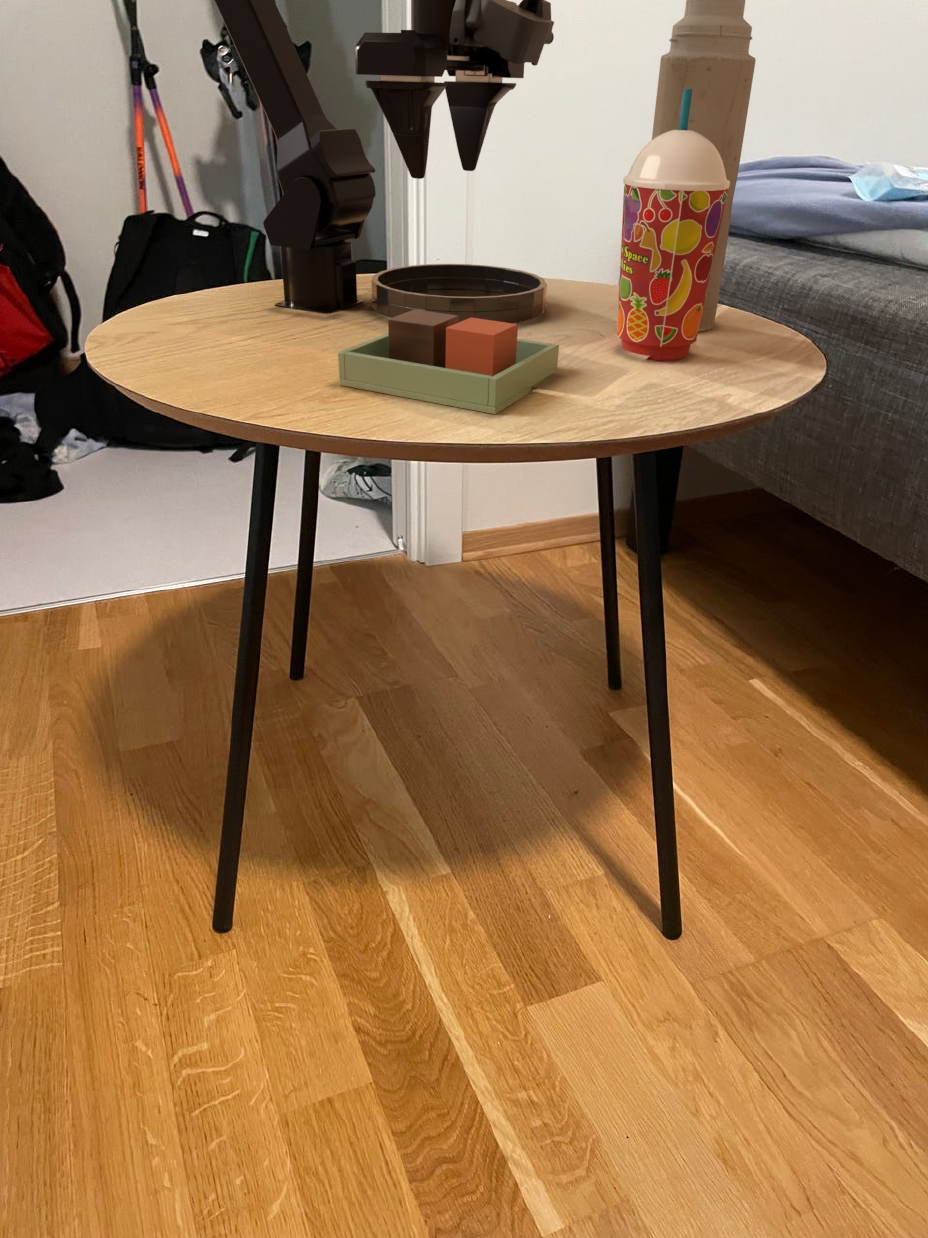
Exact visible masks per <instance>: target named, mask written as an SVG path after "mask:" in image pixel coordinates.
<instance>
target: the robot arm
mask: <svg viewBox="0 0 928 1238" xmlns="http://www.w3.org/2000/svg"><path fill="white" fill-rule="evenodd" d="M213 1H214V3H215V6H216V8H217V10H218V12H219V14H220V16H221V18H222V21H223V23H224V25H225V28H226V29H227V32H228V34H229V36H230V38H231V41H232V43H233V45H234V47H235V49H236V52H237V54H238V56H239V58H240V61H241V62H242V63H241V64H242V65H243V67H244V69H245V71H246V74H247V76H248V78H249V81H250V83H251V84H252V85H251V86H252V88H253V89H254V91H255V94H256V96H257V98H258V100H259V102H260V104H261V107H262V109H263V111H264V113H265V115H266V118H267V120H268V121H269V125H270V127H271V129H272V131H273V133H274V136H275V138H276V139H275V140H276V176H277V179H278V182H279V185H280V189H281V192H282V196H281V197H280V198H279V200H278V201H277V202H276V204H275V205H274V206H273V208H272V209H271V211H270V212H269V213H268V215H267V216H266V218H264V220H263V222H262V225H263V228H264V231H265V234H266V237H267V240H268V243H269V245H270V246H272V247H280V256H281V257H280V258H281V270H282V271H281V272H282V286H283V300H282V301H279V302H276V303H274V307H279V308H284V309H291V310H297V311H304V312H310V313H311V312H312V313H318V314H323V315H327V314H333V313H335V312H336V313H337V312H338V311H342V310H344V309H345V310H346V309H348V308H350V307H355V306H357V305H360V304H363V302H364V301H363V300H362V299H358V286H357V285H358V282H357V262H356V260H355V259H353V243H352V242H348V241H349V240H358V239H360V238H361V234H362V231H363V227H364V224H365V219H366V218H367V217H368V216H369V214H370V212H371V211H372V208H373V205H374V199H375V197H376V195H377V194H376V185H375V182H374V178H373V176H372V174H374V173H376V168H375V167H374V166H373V165H372V164H371V162H370V161H369V159H368V158H367V156H366V154H365V151H364V147H363V144H362V141H361V137H360V135H359V133H358V131H357V129H355V128H336V126H334V124H333V123H331V122H330V120H329V119H328V118H327V116H326V115H325V113H324V110H323V108H322V106H321V104H320V102H319V99H318V97H317V95H316V93H315V90H314V88H313V86H312V83H311V80H310V78H309V76H308V74H307V72H306V70H305V67H304V64H303V62H302V60H301V58H300V56H299V54H298V51H297V49H296V47H295V45H294V42H293V40H292V38H291V35H290V33H289V31H288V29H287V26H286V24H285V22H284V19H283V17H282V15H281V12H280V10H279V8H278V6H277V4H276V1H275V0H213ZM554 24H555V21H553V20H552V3H551V2H550V1H547V0H521V1H520V2H519V4H517V2H514V1H510V0H410V29H400V32H364V33H363V34H362V36H361V37H360V38H359V40H358V41H357V43H356V44H355V46H354V52H355V53H354V59H355V62H354V63H355V75H360V76H361V75H364V76H379V77H380V80H365V87H366V88H367V89H371V91H372V94H373V95H374V97H375V99H376V101H377V103H378V106H379V107H380V110H381V111H382V113H383V116H384V117H385V120H386V122H387V124H388V126H389V129H390V130H391V134H392V135H393V137H394V139H395V143H396V144H397V146H398V149H399V151H400V154H401V157H402V158H403V161H404V163H405V165H406V169H407V170H408V173H409V175H410V177H411V178H412V179H417V180H422V179H425V177H426V169H427V164H428V155H429V144H430V134H431V133H430V132H431V122H432V112H433V111H432V110H433V106H434V104H435V103H436V101H437V100H438V99H439V97H440V96H441V95H442V93H443V92H444V91H445V95H446V100H447V105H448V108H449V114H450V119H451V123H452V127H453V128H452V130H453V133H454V139H455V143H456V148H457V152H458V156H459V160H460V164H461V167H462V169H463V171H464V172H474V171H475V170H476V168H477V165H478V162H479V158H480V154H481V151H482V148H483V144H484V141H485V138H486V134H487V131H488V128H489V124H490V121H491V118H492V115H493V114H494V113H493V112H494V110H495V107H496V105H497V104H498V103H499V101H500V100H502V99H503V98H504V97H505V96H506V95H507V94H508V93H509V92H510V91H513V90H514V89H515V88H516V86H517V83H516V82H503V80H504V78H505V79H524V77H525V63H528V64H529V63H530V64H531V65H532V66H533V67H535V66H538V64H539V61H540V59H541V55H542V52H543V50H544V46H545V45H550V44H552V43H553V42H554V38H555V35H554V33H553V27H554ZM445 71H446V72H447V75H448V77H455V80H453V81H451V80H449V81H448V80H446V81H445V80H444V81H443V82H437V81H436V82H435V77H436V78H437V77H439V78H442V77H443V76H444V74H445Z"/></svg>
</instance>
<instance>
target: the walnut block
mask: <svg viewBox="0 0 928 1238" xmlns="http://www.w3.org/2000/svg"><path fill="white" fill-rule="evenodd" d="M387 320H388V321H387V328H388V329H387V333H388V340H389V359H395V360H401V361H407V362H413V363H418V364H424V365H430V366H436V367H442V368H445V366H446V328H447V327H449V326H452V325H454V324H456V323H459V316H457V315H450V314H443V313H436V312H429V311H423V310H416V309H415V310H412V311H409V312H406V313H404V314H401V315H398V316H395V317H393V318H391V317H389V318H387Z"/></svg>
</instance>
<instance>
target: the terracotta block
mask: <svg viewBox="0 0 928 1238" xmlns="http://www.w3.org/2000/svg"><path fill="white" fill-rule="evenodd" d="M518 326H519V324H517V323H506V322H499V321H492V320H485V319H478V318H469V319H466V320H464V321H461V322H459V323H456V324H454V325H452V326H449V327H447V328H446V366H445V368H448V369H454V370H459V371H465V372H471V373H477V374H483V375H489V376H492V377H493V376H494V375H496V374H498V373H500V372H502V371H504V370H506V369H507V368H509V367H511V366H513V365H515V364H516V349H517V339H518V328H519V327H518Z"/></svg>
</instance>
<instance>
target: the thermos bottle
mask: <svg viewBox="0 0 928 1238" xmlns="http://www.w3.org/2000/svg"><path fill="white" fill-rule="evenodd" d="M745 6H746V0H685V8H684V15H683V17H682V18H681V19H680V20H678V21H677V22H675V23H674V24H673V25H672V29H671V38H669V40H668V41H669V42H670V45H669V46H670V47H669V51H668V52H667V53H665V54H662V55H661V57H660V61H659V62H660V63H659V71H658V80H657V87H656V97H655V107H654V115H653V123H652V131H651V132H652V134H651V140H653V139H654V138H655V137H657V136H659V135H661V134H663V133H665V132H668V131H671V130H674V129H679V124H680V116H681V108H682V100H683V93H684V89H693V90H692V98H691V105H690V113H689V121H688V129H687V130H693V131H695V132H698V133H699V134H701V135H703V136H705V137H706V138H707V139H709V140H710V141H711V142H712V143H713V144H714V145H715V147H716V148H717V150H718V151H719V153H720V156H721V158H722V160H723V164H724V168H725V173H726V178H727V180H729V181H730V186H729V189H728V191H727V197H726V202H725V207H724V212H723V217H722V221H721V226H720V231H719V235H718V240H717V245H716V250H715V254H714V259H713V264H712V269H711V273H710V278H709V283H708V288H707V292H706V297H705V302H704V306H703V311H702V316H701V321H700V325H699V330H698V333H699V332H705V331H708V330H711V329H713V328H714V327H715V322H716V317H717V309H718V304H719V297H720V291H721V285H722V284H721V283H722V277H723V272H724V266H725V259H726V252H727V245H728V239H729V233H730V226H731V216H732V215H731V214H732V207H733V201H734V196H735V190H736V187H737V181H738V176H739V169H740V162H741V157H742V151H743V144H744V137H745V132H746V124H747V118H748V111H749V105H750V100H751V99H750V98H751V94H752V93H751V92H752V86H753V80H754V74H755V67H756V60H757V59H756V57H754V56H753V55H751V54H750V53H749V51H750V44H751V41H752V40H753V36H752V32H753V31H752V30H753V27H752V25H751V24H750V23H748V22H747V20H746V19H745V18H744V14H745V9H746V7H745Z"/></svg>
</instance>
